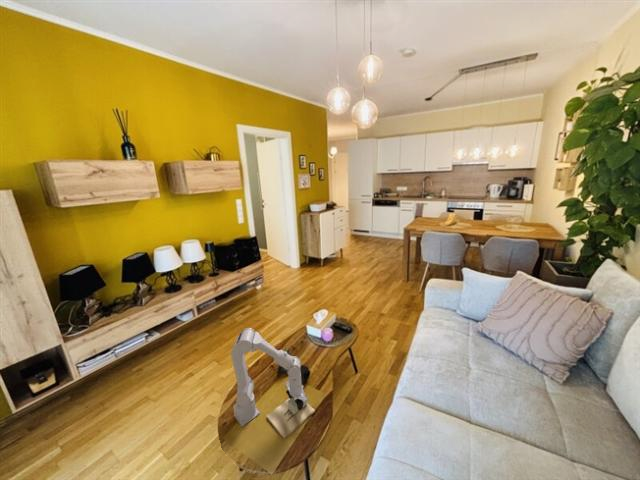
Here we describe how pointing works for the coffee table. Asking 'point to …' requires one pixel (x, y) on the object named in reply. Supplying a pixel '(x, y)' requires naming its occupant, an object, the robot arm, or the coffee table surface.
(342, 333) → the coffee table surface
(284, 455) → the coffee table surface
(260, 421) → the coffee table surface
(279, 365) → the phone stand
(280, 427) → the birch board
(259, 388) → the coffee table surface
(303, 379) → the digital camera
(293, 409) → the block
